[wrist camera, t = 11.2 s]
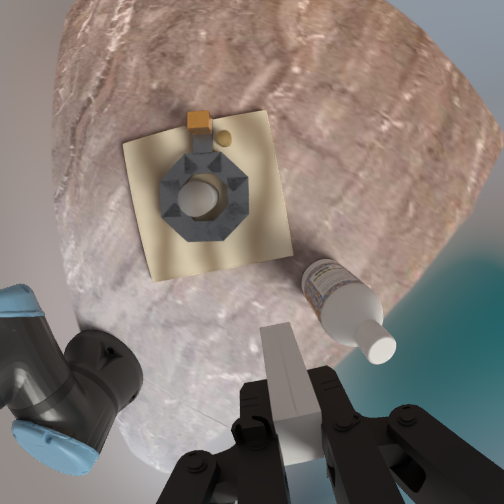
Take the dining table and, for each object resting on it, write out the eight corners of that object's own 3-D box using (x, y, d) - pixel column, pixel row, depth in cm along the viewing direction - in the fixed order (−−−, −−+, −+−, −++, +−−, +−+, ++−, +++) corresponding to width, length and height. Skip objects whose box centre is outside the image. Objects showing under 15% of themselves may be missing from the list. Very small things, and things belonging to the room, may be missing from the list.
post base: (155, 280, 40) (132, 306, 31) (125, 145, 36) (93, 134, 26) (292, 253, 40) (308, 274, 31) (265, 112, 36) (273, 88, 26)
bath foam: (290, 284, 41) (329, 361, 22) (323, 248, 40) (388, 299, 21) (323, 311, 43) (374, 393, 23) (354, 277, 42) (426, 340, 22)
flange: (249, 238, 38) (250, 246, 33) (165, 240, 38) (154, 249, 32) (247, 120, 35) (248, 109, 29) (162, 125, 35) (150, 115, 29)
